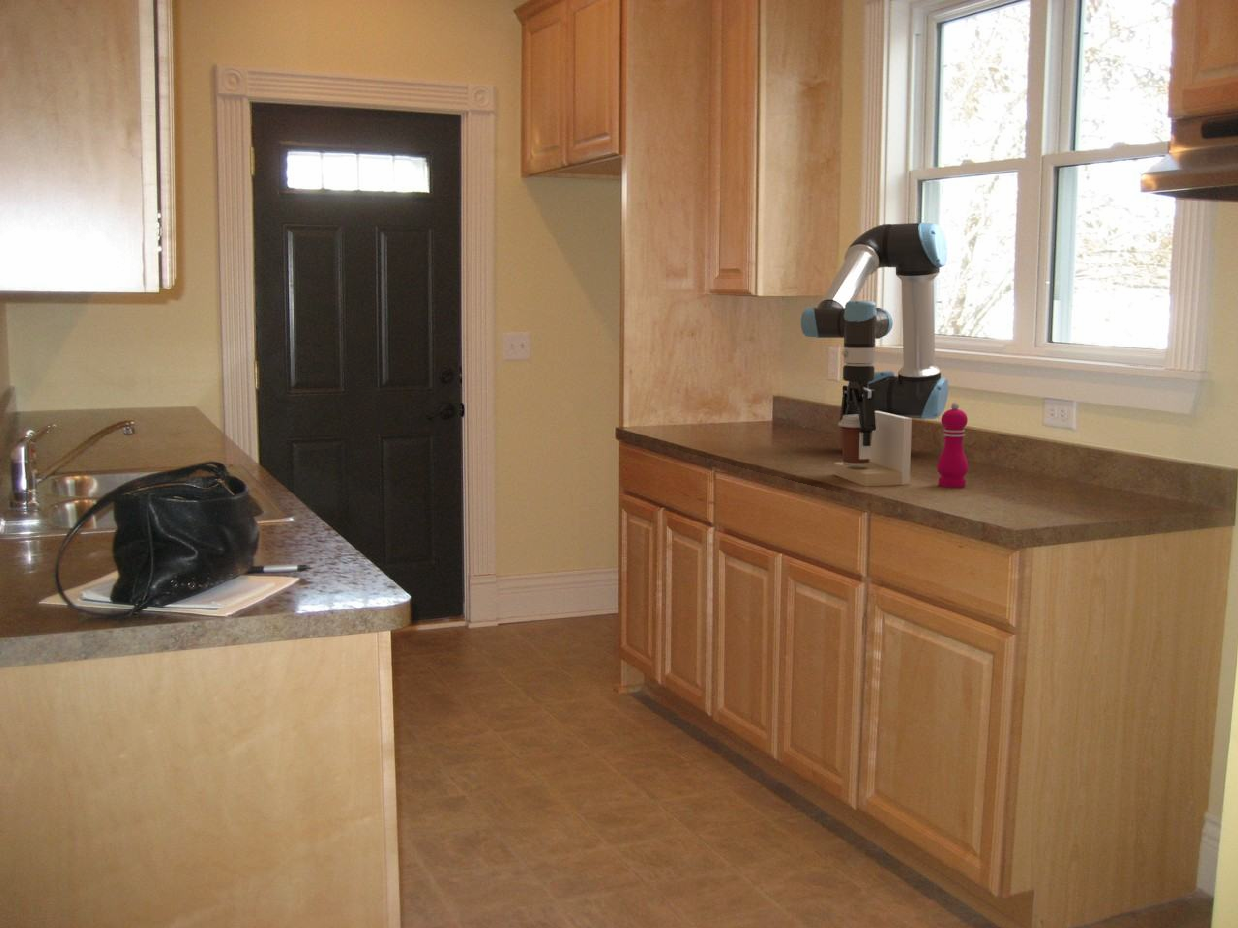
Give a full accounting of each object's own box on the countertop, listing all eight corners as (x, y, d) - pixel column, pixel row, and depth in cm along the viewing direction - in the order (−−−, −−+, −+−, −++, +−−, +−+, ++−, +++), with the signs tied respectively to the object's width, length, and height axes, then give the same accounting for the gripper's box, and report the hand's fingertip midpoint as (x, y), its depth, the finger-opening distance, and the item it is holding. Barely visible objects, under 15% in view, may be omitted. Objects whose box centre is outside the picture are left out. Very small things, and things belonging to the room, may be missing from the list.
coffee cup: (833, 465, 300) (834, 416, 299) (841, 460, 309) (842, 413, 307) (871, 467, 297) (872, 418, 295) (877, 462, 305) (879, 414, 304)
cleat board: (876, 473, 315) (878, 410, 312) (909, 484, 296) (911, 418, 294) (834, 474, 312) (835, 411, 310) (865, 486, 294) (867, 419, 292)
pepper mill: (951, 489, 290) (954, 404, 287) (930, 484, 296) (932, 401, 293) (974, 486, 293) (977, 403, 290) (953, 482, 299) (956, 400, 296)
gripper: (827, 362, 309) (825, 451, 312) (862, 367, 288) (860, 463, 291) (855, 361, 311) (853, 450, 314) (892, 367, 290) (889, 462, 293)
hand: (856, 456), depth 303 cm, fingers closed on coffee cup, 9 cm apart
